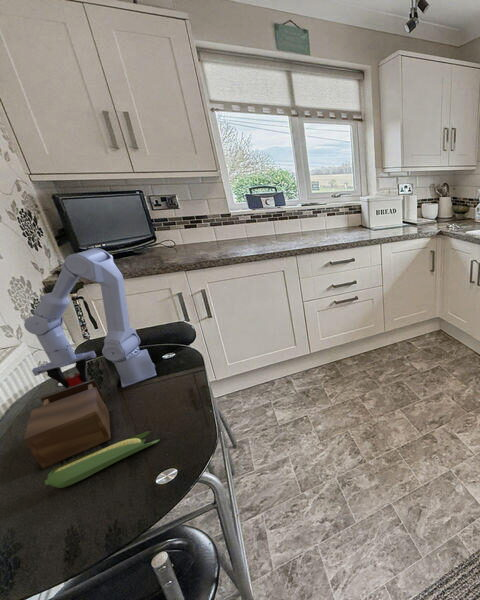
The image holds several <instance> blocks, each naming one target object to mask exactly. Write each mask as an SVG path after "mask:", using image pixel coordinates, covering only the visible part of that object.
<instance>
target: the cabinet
mask: <svg viewBox="0 0 480 600" xmlns="http://www.w3.org/2000/svg"><path fill="white" fill-rule="evenodd" d="M110 421H111V420H110V412H109V410H108V408H107V406H106V404H105V402H104V401H103V400H102V398H101V396H100V394H99V392H98V390H97V388H96V387H94V388H91V389H88V390H86V391H83V392H80V393H77V394H74V395H71V396H69V397H66V398H63V399H60V400H57V401H54V402H52V403H49V404H46V405H43V404H42V405H41V406H38V407H35V408H32V409H31V412H30V415H29V419H28V423H27V426H26V430H25V432H24V436H23V441H24V442H25V444H26V446H27V447H28V449H29V450H30V452H31V454H32V455H33V456H34V457H35V459H36V461H37V462H38V464H39V465H40V468H42V469H45V468H48V467H50V466H53V465H55V464H57V463H59V462H62V461H65V460H67V459H69V458H71V457H73V456H76V455H78V454H81V453H83V452H85V451H87V450H90V449H92V448H94V447H96V446H98V445H99V446H100V445H101V444H103V443H106V442H108V441H110V440H111V439H112V438H111V423H110Z"/></svg>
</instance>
